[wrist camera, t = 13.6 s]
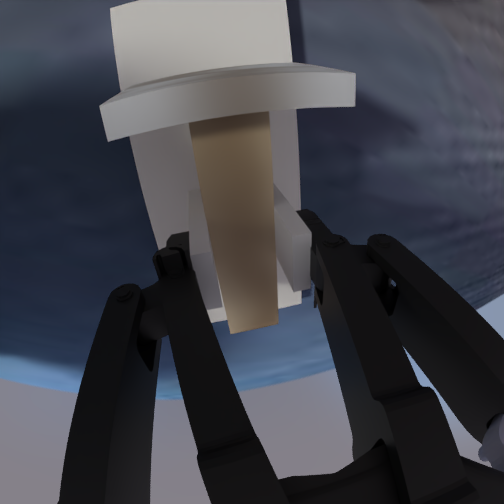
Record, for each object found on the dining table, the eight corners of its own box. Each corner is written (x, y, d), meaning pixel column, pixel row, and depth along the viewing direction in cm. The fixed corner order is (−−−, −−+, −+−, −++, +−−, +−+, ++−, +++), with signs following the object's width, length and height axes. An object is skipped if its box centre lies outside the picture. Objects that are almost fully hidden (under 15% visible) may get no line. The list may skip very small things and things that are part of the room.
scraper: (187, 295, 21) (194, 369, 16) (131, 85, 12) (99, 105, 7) (296, 273, 22) (327, 339, 17) (294, 62, 13) (355, 73, 8)
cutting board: (184, 319, 25) (185, 327, 24) (113, 11, 12) (110, 8, 11) (297, 295, 26) (301, 303, 25) (279, -11, 13) (283, -15, 12)
